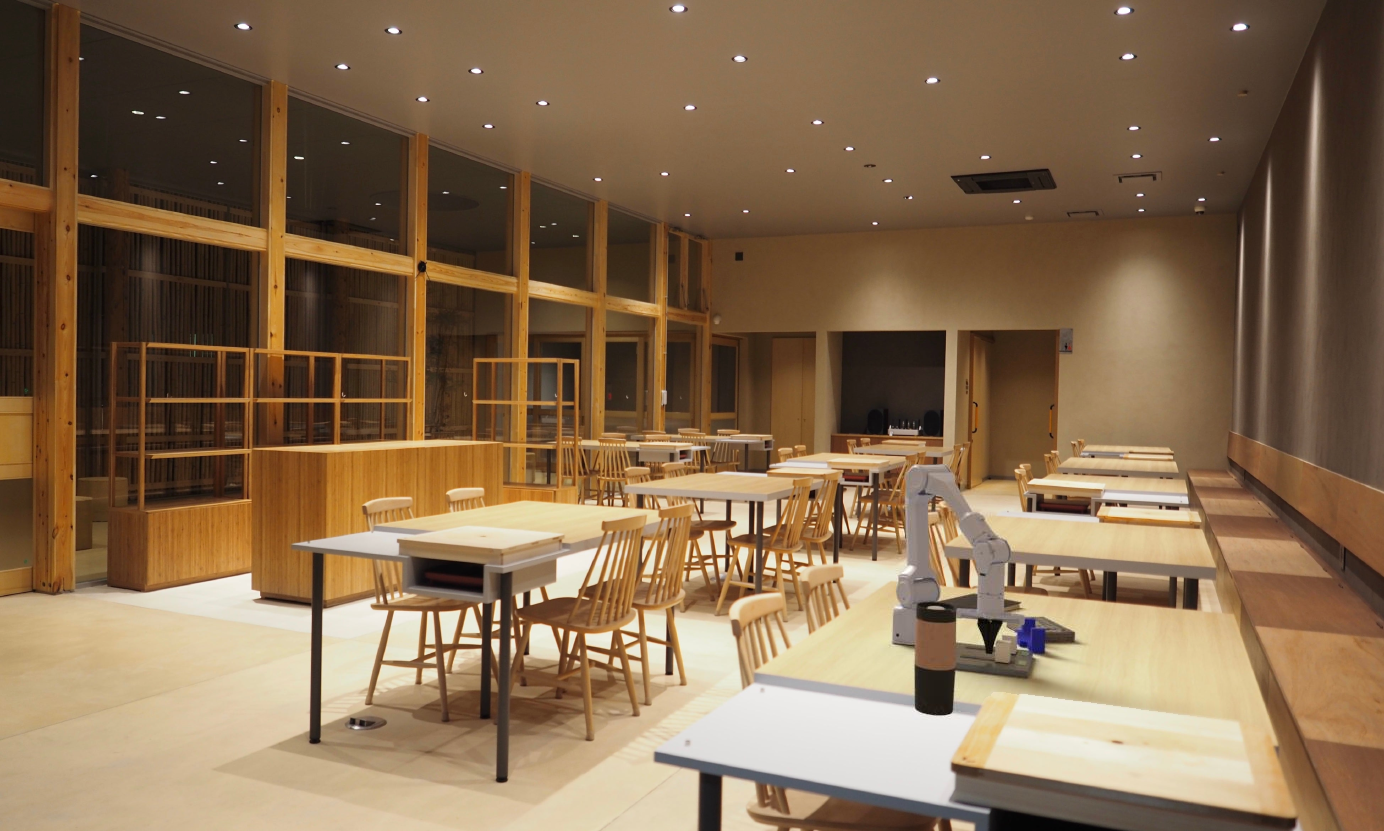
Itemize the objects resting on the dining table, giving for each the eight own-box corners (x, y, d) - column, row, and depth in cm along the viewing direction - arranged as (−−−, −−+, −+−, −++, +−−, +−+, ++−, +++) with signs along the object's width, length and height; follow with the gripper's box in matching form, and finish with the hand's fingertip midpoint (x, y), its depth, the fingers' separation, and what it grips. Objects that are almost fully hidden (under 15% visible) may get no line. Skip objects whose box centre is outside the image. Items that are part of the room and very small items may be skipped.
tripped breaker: (994, 661, 215) (995, 643, 215) (996, 657, 219) (997, 639, 219) (1009, 663, 214) (1009, 645, 214) (1010, 658, 218) (1011, 641, 218)
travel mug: (908, 703, 189) (910, 601, 189) (946, 703, 190) (948, 601, 190) (920, 716, 182) (923, 610, 181) (960, 716, 182) (963, 610, 182)
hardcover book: (1021, 610, 282) (1021, 602, 282) (978, 620, 266) (978, 612, 266) (972, 600, 293) (972, 592, 293) (928, 610, 278) (929, 602, 278)
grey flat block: (1043, 627, 259) (1043, 616, 259) (1075, 644, 242) (1076, 631, 242) (1004, 627, 258) (1005, 615, 258) (1035, 643, 240) (1035, 631, 240)
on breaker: (1001, 652, 223) (1002, 635, 223) (1003, 648, 227) (1003, 631, 227) (1015, 653, 222) (1015, 636, 222) (1016, 649, 226) (1017, 632, 226)
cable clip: (1014, 641, 242) (1015, 617, 242) (1033, 642, 241) (1034, 618, 241) (1025, 653, 230) (1025, 628, 230) (1044, 654, 230) (1045, 629, 229)
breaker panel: (941, 667, 216) (942, 660, 215) (953, 648, 233) (953, 641, 233) (1027, 678, 209) (1027, 670, 208) (1032, 657, 226) (1033, 650, 226)
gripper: (955, 592, 217) (953, 653, 217) (1023, 599, 211) (1021, 661, 211) (959, 587, 223) (958, 646, 223) (1025, 593, 218) (1024, 653, 218)
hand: (989, 653), depth 218 cm, fingers closed
